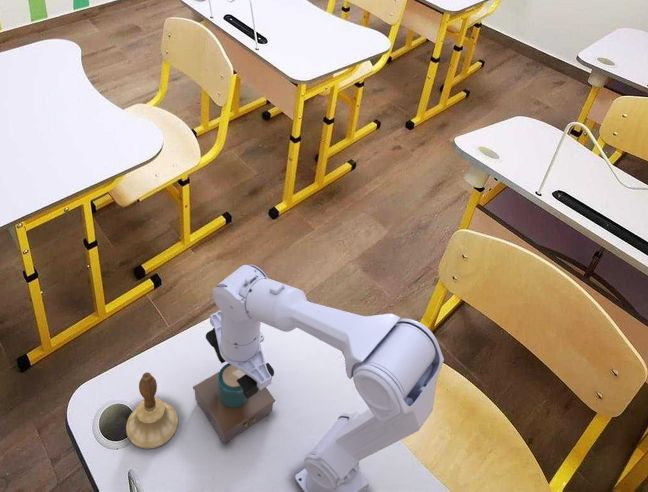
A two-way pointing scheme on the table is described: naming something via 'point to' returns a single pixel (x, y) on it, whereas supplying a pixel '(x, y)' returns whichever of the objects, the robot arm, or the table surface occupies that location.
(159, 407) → the hand bell
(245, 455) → the table surface
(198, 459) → the table surface
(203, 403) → the brown wooden box
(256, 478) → the table surface
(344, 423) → the robot arm
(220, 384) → the cup
